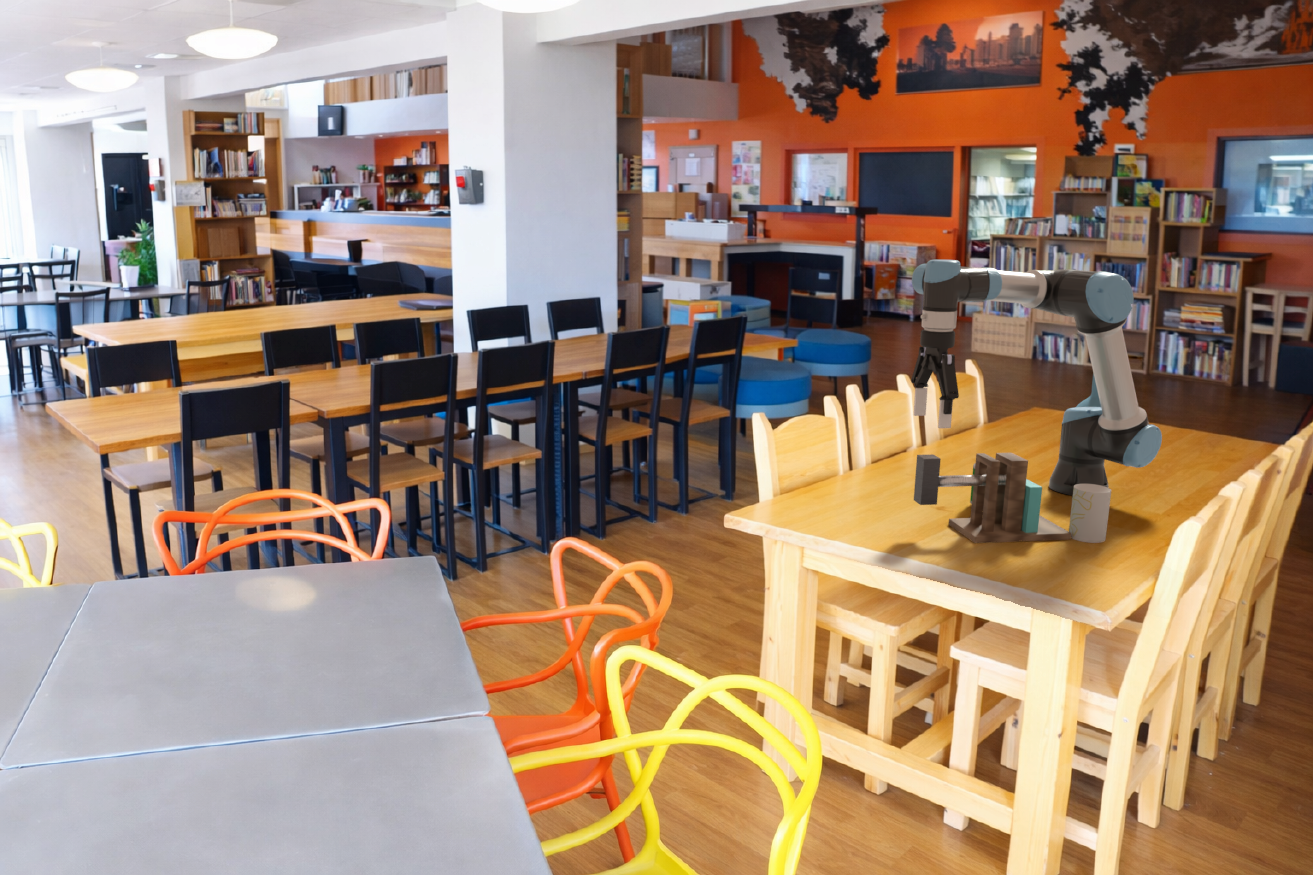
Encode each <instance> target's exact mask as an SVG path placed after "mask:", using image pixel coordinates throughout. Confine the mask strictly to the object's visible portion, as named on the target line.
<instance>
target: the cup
mask: <svg viewBox="0 0 1313 875" xmlns="http://www.w3.org/2000/svg"><path fill="white" fill-rule="evenodd" d="M1111 496H1112V489H1111V488H1110V487H1109V486H1108V487H1105V486H1101V485H1095V484H1076V485H1074V489H1073V495H1072V497H1071V498H1072V499H1071V509H1070V519H1069V526H1068V532H1070V533H1071V540H1075V541H1078V542H1083V543H1090V544H1091V543H1092V544H1098V543H1104V542H1105V541H1106V537H1107V529H1108V522H1109V521H1108V520H1109V514H1110V513H1109V512H1110V505H1111Z"/></svg>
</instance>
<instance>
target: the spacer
mask: <svg viewBox="0 0 1313 875" xmlns="http://www.w3.org/2000/svg"><path fill="white" fill-rule="evenodd" d="M1042 493H1043V486H1041V485H1039V484H1038V483H1035V482H1033V481H1031V480H1030V479H1027V478H1026V488H1025V497H1024V507H1023V517H1022V527H1021V530H1022V531H1024V532H1025V533H1034V532H1038V524H1039V516H1040V512H1041V505H1042V495H1043V494H1042Z"/></svg>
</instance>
